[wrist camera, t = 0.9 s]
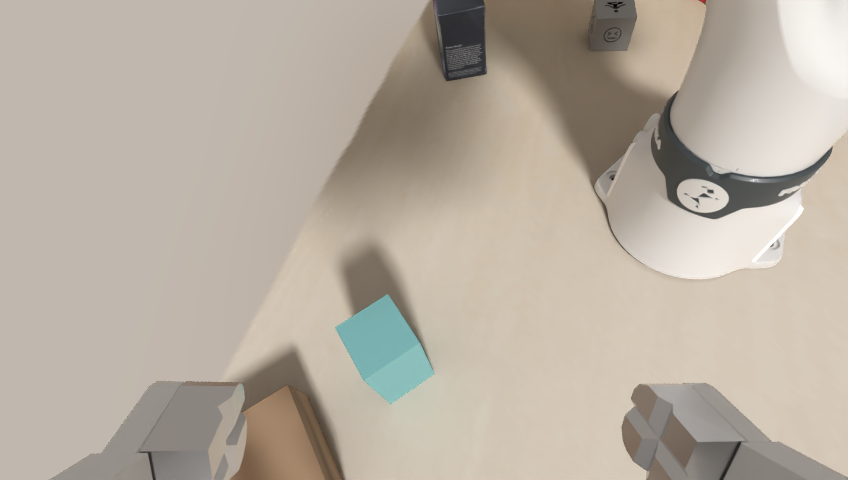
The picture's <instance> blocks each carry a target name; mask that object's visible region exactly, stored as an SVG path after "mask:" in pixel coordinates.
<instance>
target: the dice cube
mask: <svg viewBox="0 0 848 480" xmlns="http://www.w3.org/2000/svg"><path fill="white" fill-rule="evenodd" d="M636 19H637V14H636V8H635V2H634V0H595V1H594V6H593V11H592V15H591V20H590V25H589V29H588V32H589V46H590V51H627V48H628V45H629V42H630V39H631V35H632V32H633V29H634V26H635V22H636Z"/></svg>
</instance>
